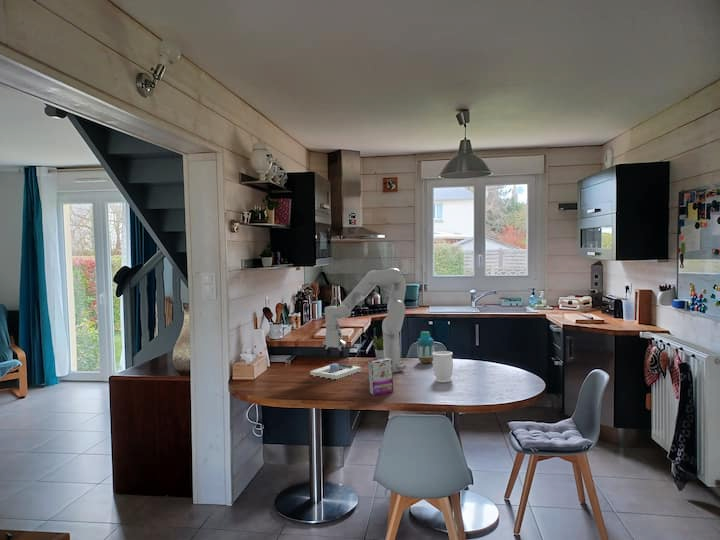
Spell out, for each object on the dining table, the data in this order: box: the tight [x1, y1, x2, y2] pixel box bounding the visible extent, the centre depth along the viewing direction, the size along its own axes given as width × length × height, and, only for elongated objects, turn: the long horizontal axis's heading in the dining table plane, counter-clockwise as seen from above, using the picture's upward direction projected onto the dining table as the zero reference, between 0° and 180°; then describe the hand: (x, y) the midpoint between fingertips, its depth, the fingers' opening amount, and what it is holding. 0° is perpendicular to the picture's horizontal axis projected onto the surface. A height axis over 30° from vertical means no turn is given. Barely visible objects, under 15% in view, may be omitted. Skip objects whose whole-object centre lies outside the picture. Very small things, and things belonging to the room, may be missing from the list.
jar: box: [432, 350, 454, 384], centre depth 262 cm, size 11×10×15 cm
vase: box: [416, 330, 436, 364], centre depth 305 cm, size 11×11×19 cm
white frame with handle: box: [309, 364, 362, 380], centre depth 289 cm, size 20×22×2 cm
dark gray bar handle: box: [332, 362, 354, 368], centre depth 294 cm, size 14×2×2 cm, turn 51°
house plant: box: [372, 335, 384, 360], centre depth 321 cm, size 14×14×16 cm
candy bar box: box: [367, 358, 394, 396], centre depth 246 cm, size 11×5×16 cm, turn 114°
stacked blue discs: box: [329, 363, 340, 373], centre depth 288 cm, size 5×5×6 cm
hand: (335, 356), depth 288 cm, fingers open, 9 cm apart
